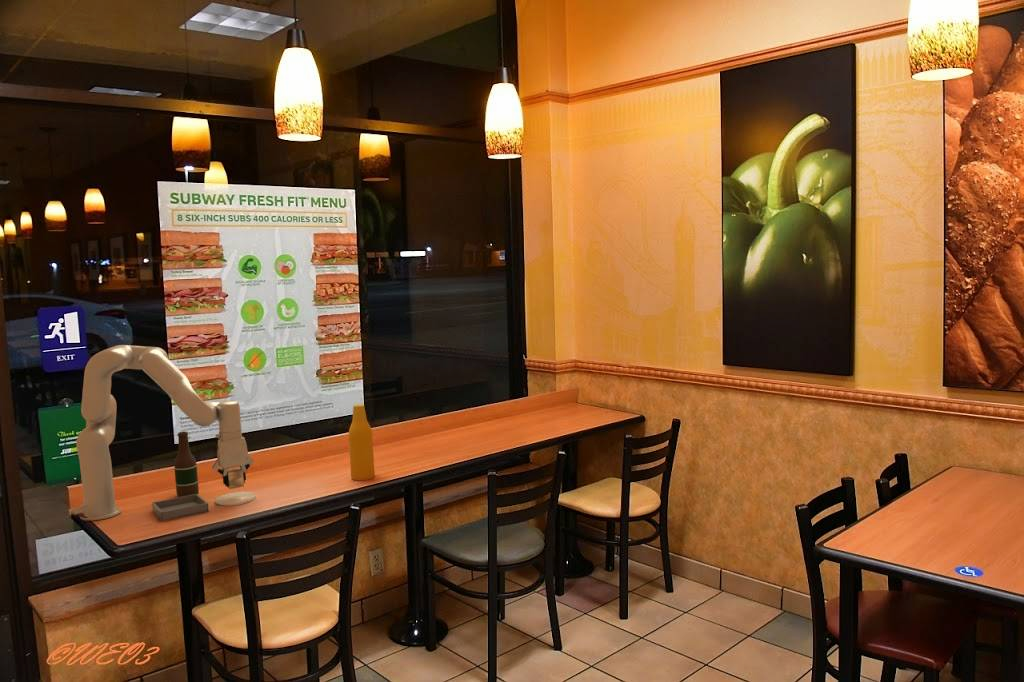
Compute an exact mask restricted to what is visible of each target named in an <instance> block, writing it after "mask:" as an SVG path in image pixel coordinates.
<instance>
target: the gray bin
mask: <svg viewBox="0 0 1024 682" xmlns="http://www.w3.org/2000/svg"><path fill="white" fill-rule="evenodd" d="M151 506H152V508H151V509H152V511H153V513H154V514H155V515H156V516H157V517H158V519H159V520H160V521H161V522H163V521H164V522H165V521H170V520H174V519H179V518H180V519H181V518H184V517H189V516H193V515H199V514H204V513H208V512H209V502H207V501H206V500H205V499H204V498H202V497H201V496H200V495H199V493H198V494H193V495H188V496H183V497H178V496H177V497H173V498H168V499H167V498H166V499H164V500H159V501H153V502H151Z"/></svg>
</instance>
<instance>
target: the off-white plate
mask: <svg viewBox="0 0 1024 682" xmlns="http://www.w3.org/2000/svg"><path fill="white" fill-rule="evenodd" d="M256 495H257V494H256V493H255V492H252V491H236V492H235V491H234V492H229V493H225V494H222V495H220V496H217V497H216V498H215V499H214V503H215V505H217V506H221V507H229V506H231V507H232V506H240V505H244V504H248V503H250V502H253V501H255V499H256V498H257V496H256Z"/></svg>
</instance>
